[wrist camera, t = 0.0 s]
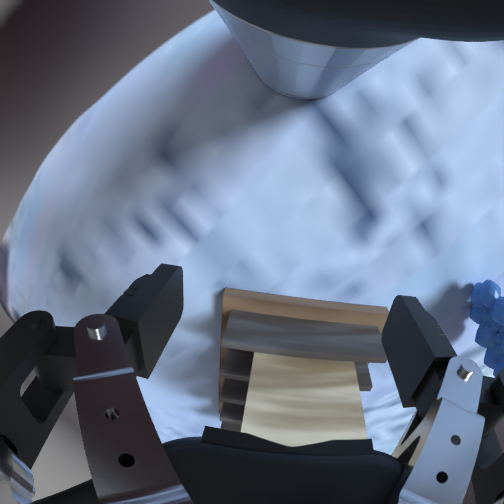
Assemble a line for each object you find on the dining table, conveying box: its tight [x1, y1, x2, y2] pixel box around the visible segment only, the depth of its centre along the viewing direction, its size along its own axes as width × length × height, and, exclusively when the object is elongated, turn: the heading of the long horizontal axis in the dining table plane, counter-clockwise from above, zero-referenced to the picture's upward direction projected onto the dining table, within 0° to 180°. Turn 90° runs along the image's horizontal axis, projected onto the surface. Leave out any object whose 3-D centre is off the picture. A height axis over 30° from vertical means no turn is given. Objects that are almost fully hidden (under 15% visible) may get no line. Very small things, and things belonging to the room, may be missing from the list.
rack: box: [219, 288, 389, 432], centre depth 32 cm, size 22×18×6 cm
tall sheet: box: [241, 352, 367, 447], centre depth 23 cm, size 2×10×16 cm, turn 85°
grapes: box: [470, 280, 504, 377], centre depth 22 cm, size 12×7×12 cm, turn 27°
